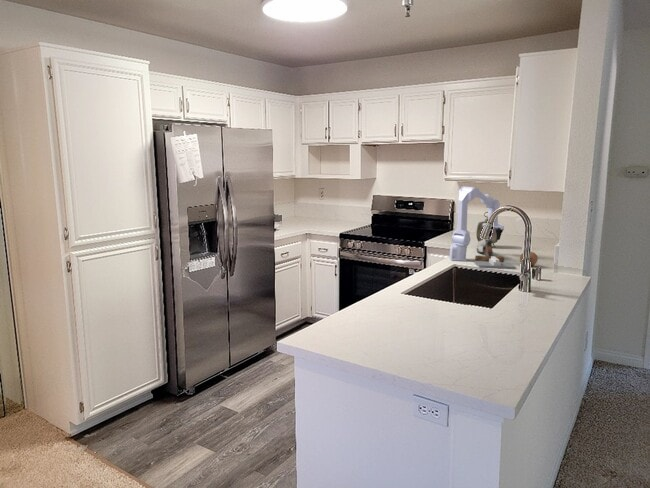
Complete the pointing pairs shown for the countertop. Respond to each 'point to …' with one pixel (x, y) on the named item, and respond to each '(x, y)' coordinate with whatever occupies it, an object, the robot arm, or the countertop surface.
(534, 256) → the onion
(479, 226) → the tabletop clock
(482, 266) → the stand
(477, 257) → the bar
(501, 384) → the countertop surface
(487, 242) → the gun
